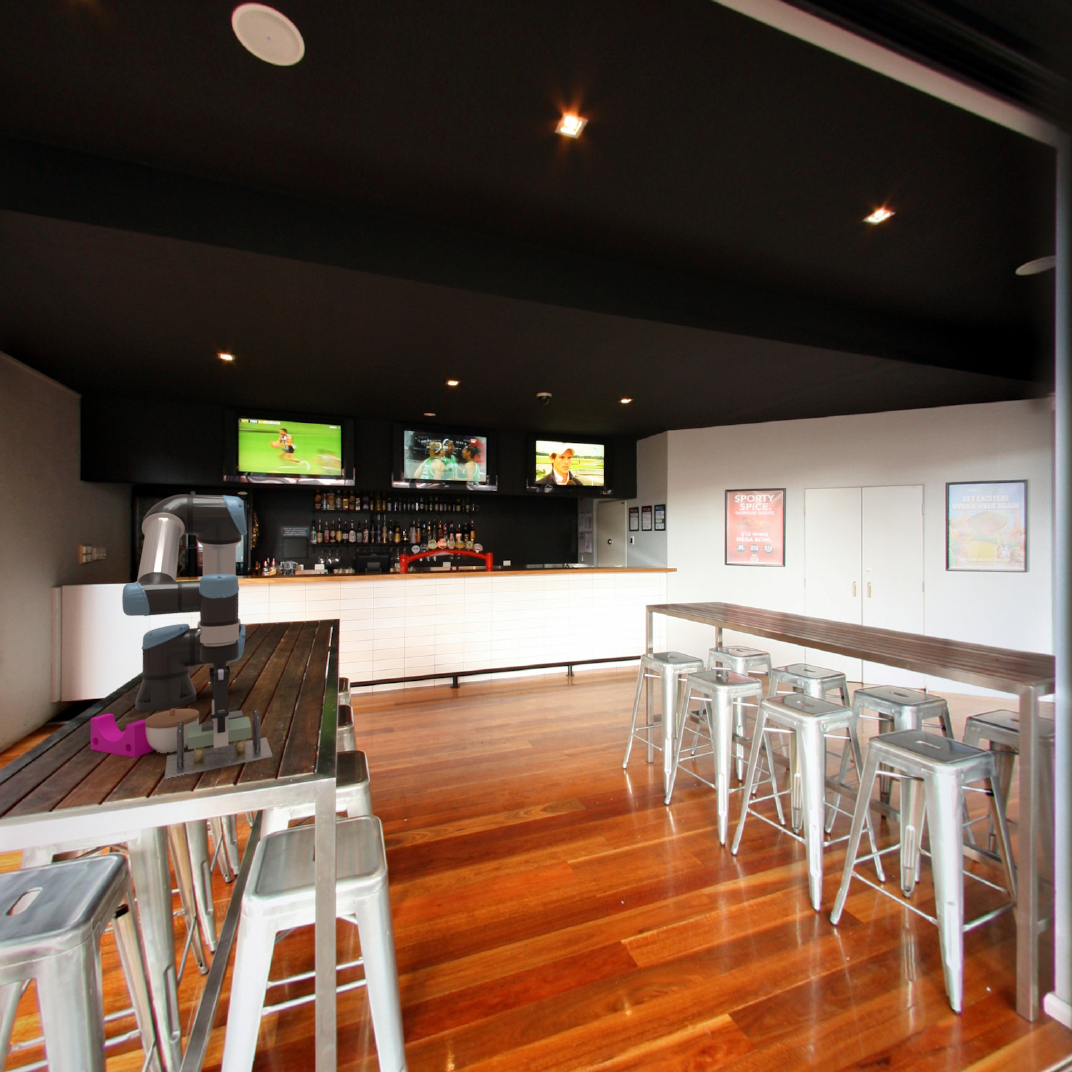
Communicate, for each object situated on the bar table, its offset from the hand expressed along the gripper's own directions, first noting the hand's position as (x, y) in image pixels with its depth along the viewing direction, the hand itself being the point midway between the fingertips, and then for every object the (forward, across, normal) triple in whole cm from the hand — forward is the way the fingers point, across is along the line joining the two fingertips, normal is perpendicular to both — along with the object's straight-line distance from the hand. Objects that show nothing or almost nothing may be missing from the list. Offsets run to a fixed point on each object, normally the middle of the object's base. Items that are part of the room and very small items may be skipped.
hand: (219, 735), depth 120 cm
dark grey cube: (+5, -16, +3) cm, 17 cm away
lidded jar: (+6, -13, -9) cm, 17 cm away
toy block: (+6, -19, -18) cm, 27 cm away
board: (0, 0, 0) cm, 0 cm away
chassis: (+5, 0, 0) cm, 5 cm away
